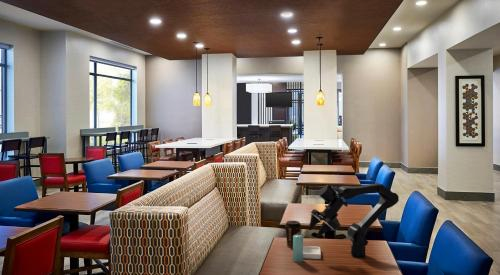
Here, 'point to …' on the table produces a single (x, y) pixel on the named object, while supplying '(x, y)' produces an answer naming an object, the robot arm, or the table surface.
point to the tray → (311, 252)
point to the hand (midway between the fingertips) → (313, 233)
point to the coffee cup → (292, 231)
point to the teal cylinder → (298, 248)
